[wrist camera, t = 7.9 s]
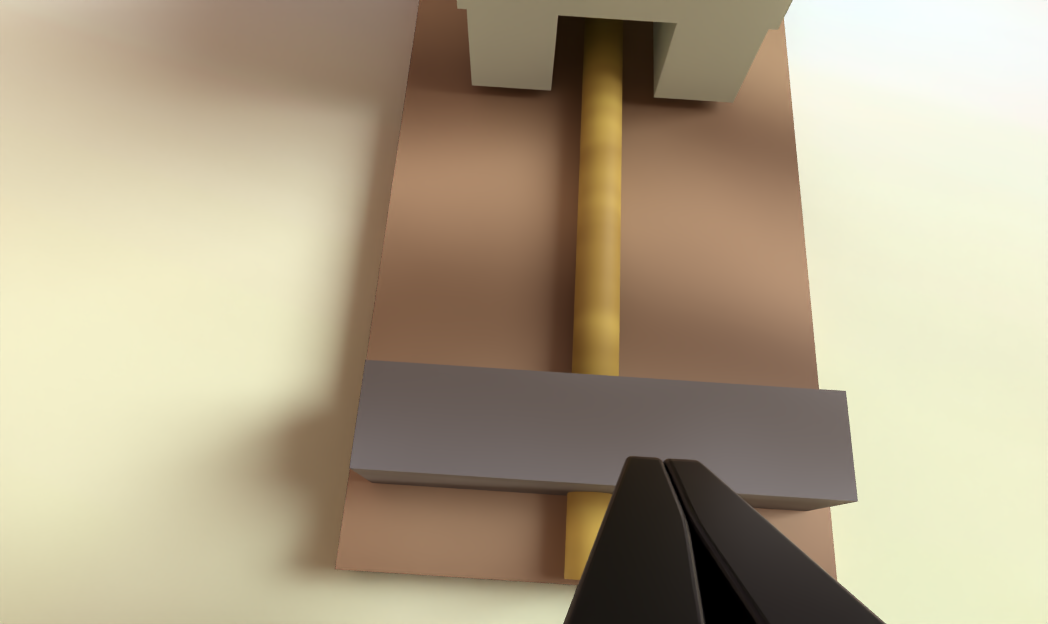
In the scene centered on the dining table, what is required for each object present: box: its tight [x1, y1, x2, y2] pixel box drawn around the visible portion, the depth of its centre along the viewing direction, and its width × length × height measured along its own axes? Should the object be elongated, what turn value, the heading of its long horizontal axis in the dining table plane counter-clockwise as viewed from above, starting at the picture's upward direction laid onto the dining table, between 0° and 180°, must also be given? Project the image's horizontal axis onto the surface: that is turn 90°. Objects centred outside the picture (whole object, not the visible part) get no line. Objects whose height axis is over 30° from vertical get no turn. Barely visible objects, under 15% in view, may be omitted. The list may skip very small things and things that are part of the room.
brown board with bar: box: [335, 0, 858, 585], centre depth 16 cm, size 22×10×6 cm, turn 176°
